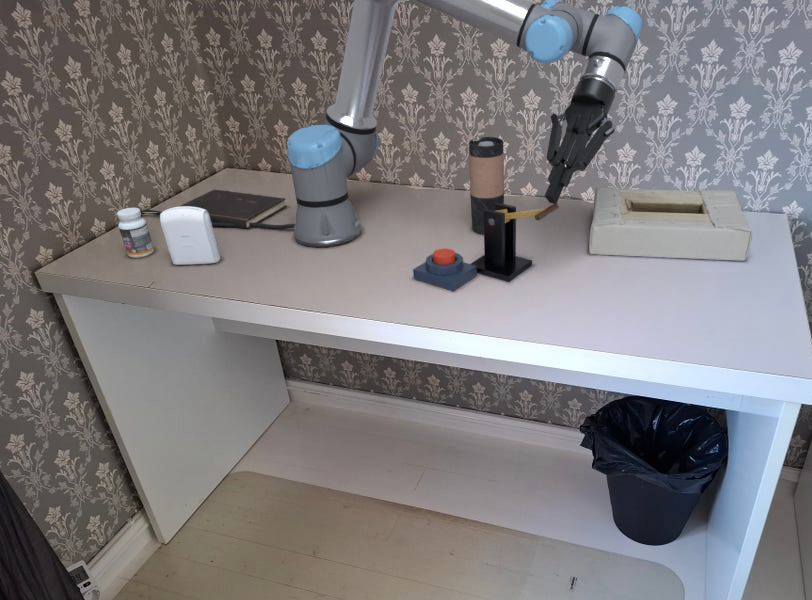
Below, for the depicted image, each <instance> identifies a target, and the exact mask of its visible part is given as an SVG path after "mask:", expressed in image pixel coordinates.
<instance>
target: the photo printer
mask: <svg viewBox="0 0 812 600" xmlns="http://www.w3.org/2000/svg"><path fill="white" fill-rule="evenodd" d="M179 206H180V207H179ZM179 206H175V207H170V208H167V209H165V210H162V211H161V212H162V213H161V214H160V215H159V221H160V225H161V229H162V232H163V236H164V239H165V243H166V245H167V249H168V252H169V256H170V258H171V261H172V264H173V265H174V266H175V265H176V266H177V265H180V266H181V265H182V266H185V265H205V264H217V263H218V262H220V260H221V253H220V250H219V246H218V242H217V238H216V234H215V231H214V226H212V223H211V219H210V216H209V213H208V211H207V210H205V209H202V208H198V207H191V206H181V205H179Z"/></svg>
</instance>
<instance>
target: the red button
mask: <svg viewBox="0 0 812 600" xmlns="http://www.w3.org/2000/svg"><path fill="white" fill-rule="evenodd" d="M455 253H456V251H455V250H453V249H452V248H438V249H436V250H434V251H433V252H432V254H433V262H434V263H435V264H439V265H447V264H452V263H454V262H455Z"/></svg>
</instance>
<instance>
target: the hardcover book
mask: <svg viewBox="0 0 812 600" xmlns="http://www.w3.org/2000/svg"><path fill="white" fill-rule="evenodd" d="M285 201H286V198H283V197H277V196H268V195H263V194H253V193H245V192H237V191H231V190H230V191H229V190H222V189H215V188H214V189H212V190H210V191H208V192H205V193H204V194H202V195H200V196H198V197H195V198H193V199H192V200H189V201H187V202H185V203H183V204H181V205H178V207H180V206H191V207H198V208H202V209H205V210H207V211H208V213H209V216H210V219H211V222H217V223H231V224H233V225H235V227H234V228H239V229H245V230H246V229H247V230H249V229H251V228H252V227H251V226H249V223H263V221H265V220H266V219H269V218H270V217H273V216H274V215H275V214H277V213H279V212H281V211H283V210H284V209H285V208H287V207H288V206H287V205H286V204H285Z"/></svg>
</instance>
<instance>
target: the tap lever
mask: <svg viewBox="0 0 812 600" xmlns="http://www.w3.org/2000/svg"><path fill="white" fill-rule="evenodd" d="M559 206H560V205H559V204H558V203H557V204H553V203H551V204H550V205H549V206H547V207H546V208H539V209H530V210H522V211H516V212H512V213H508V211H507V209H503V210H496V211H498V212H502V213H505V223H507V222H508V221H510V219H516V220H517V219H523V218H532V217H533V218H534V220H536V221H540V220H542V219H545V218H546V217H547V216H549V215H550V214H551V213H553V212H556V210H558V209H559Z"/></svg>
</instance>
